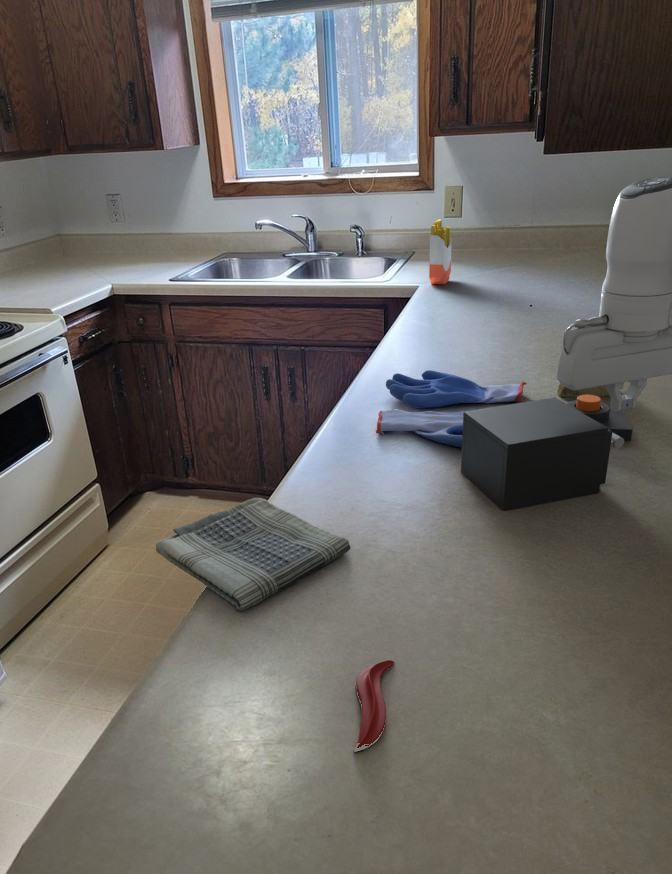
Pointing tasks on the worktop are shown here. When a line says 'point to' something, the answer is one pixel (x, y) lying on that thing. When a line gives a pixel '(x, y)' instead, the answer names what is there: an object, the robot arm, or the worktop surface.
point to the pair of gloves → (439, 404)
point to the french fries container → (440, 253)
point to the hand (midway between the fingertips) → (622, 409)
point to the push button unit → (609, 420)
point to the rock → (582, 391)
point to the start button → (588, 403)
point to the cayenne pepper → (372, 702)
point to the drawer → (611, 441)
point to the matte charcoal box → (532, 452)
